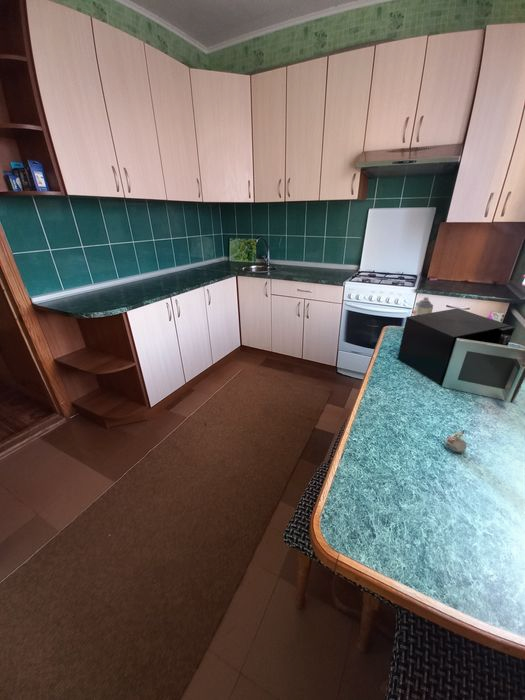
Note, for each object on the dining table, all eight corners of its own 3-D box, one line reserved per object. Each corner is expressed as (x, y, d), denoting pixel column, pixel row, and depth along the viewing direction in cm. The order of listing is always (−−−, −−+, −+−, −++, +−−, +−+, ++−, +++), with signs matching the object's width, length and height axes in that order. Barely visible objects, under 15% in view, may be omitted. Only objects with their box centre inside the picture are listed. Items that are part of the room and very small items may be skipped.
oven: (499, 373, 106) (517, 328, 98) (445, 388, 98) (460, 340, 90) (445, 348, 125) (457, 308, 117) (397, 358, 117) (406, 316, 109)
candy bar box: (477, 347, 125) (490, 311, 118) (491, 350, 122) (505, 313, 115) (472, 356, 118) (485, 318, 110) (487, 360, 115) (501, 321, 107)
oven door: (518, 413, 86) (543, 361, 78) (442, 396, 94) (458, 347, 86) (512, 399, 92) (535, 349, 84) (441, 384, 100) (456, 337, 92)
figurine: (467, 457, 72) (474, 439, 69) (447, 454, 73) (454, 436, 70) (458, 441, 76) (465, 424, 74) (440, 439, 77) (446, 422, 74)
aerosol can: (410, 335, 137) (420, 294, 128) (426, 339, 133) (437, 297, 123) (405, 340, 132) (415, 297, 123) (421, 344, 128) (432, 301, 119)
